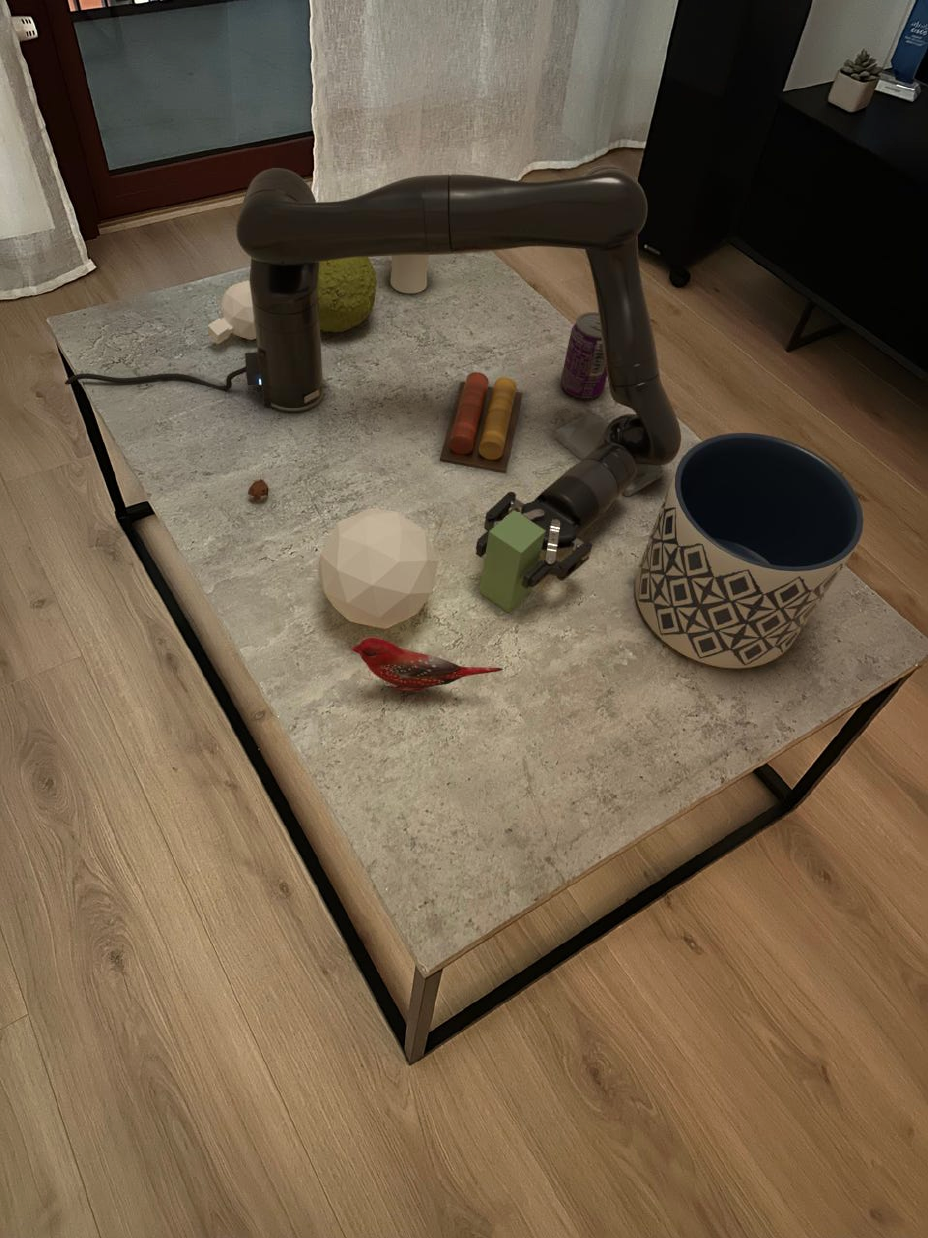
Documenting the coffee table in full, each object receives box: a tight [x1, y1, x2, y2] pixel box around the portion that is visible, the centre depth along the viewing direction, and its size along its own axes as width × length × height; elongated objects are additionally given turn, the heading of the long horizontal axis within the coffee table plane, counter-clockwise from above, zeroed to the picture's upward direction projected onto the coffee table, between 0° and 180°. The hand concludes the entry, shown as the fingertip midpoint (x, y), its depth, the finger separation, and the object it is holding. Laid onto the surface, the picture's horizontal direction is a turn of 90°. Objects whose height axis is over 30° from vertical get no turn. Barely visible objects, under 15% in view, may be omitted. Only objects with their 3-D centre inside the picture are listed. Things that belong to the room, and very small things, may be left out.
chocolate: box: [247, 473, 272, 501], centre depth 124 cm, size 3×2×4 cm
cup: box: [390, 255, 430, 294], centre depth 153 cm, size 10×10×14 cm
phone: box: [554, 411, 664, 497], centre depth 136 cm, size 8×16×1 cm, turn 40°
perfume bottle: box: [207, 279, 256, 345], centre depth 143 cm, size 9×9×12 cm
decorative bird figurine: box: [350, 637, 504, 692], centre depth 105 cm, size 3×18×10 cm, turn 88°
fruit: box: [318, 257, 378, 333], centre depth 146 cm, size 16×14×15 cm
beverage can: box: [560, 311, 608, 399], centre depth 141 cm, size 7×7×12 cm
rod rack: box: [439, 371, 523, 474], centre depth 136 cm, size 18×10×4 cm, turn 170°
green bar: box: [479, 510, 546, 614], centre depth 114 cm, size 5×5×12 cm
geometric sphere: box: [317, 507, 439, 630], centre depth 111 cm, size 14×15×15 cm
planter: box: [634, 432, 865, 669], centre depth 113 cm, size 22×22×20 cm
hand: (501, 567), depth 112 cm, fingers open, 7 cm apart
